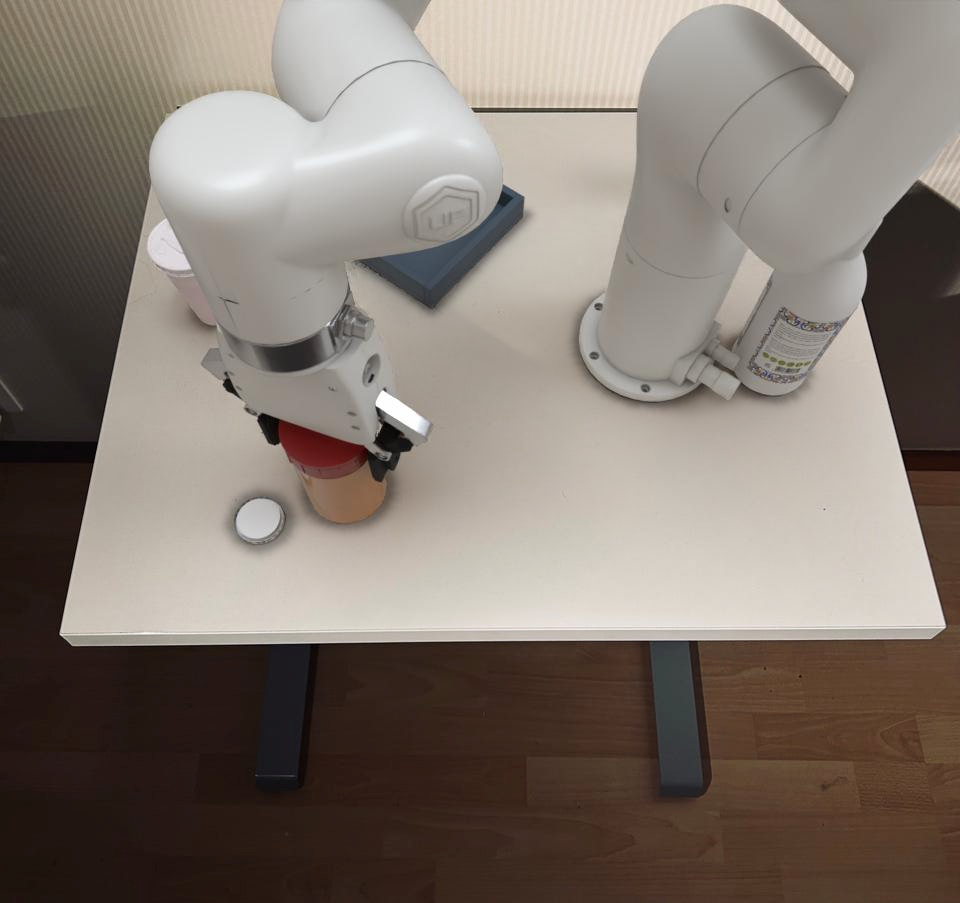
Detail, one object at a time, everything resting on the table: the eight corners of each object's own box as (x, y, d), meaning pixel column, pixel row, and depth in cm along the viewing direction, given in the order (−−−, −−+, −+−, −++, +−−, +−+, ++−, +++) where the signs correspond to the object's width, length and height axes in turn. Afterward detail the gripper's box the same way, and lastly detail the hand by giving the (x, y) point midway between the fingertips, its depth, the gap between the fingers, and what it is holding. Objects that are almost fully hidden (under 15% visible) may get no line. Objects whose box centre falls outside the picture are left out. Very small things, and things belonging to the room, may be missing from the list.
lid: (328, 380, 61) (324, 367, 60) (396, 430, 59) (394, 418, 58) (263, 442, 59) (257, 430, 57) (332, 496, 57) (328, 486, 55)
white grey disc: (260, 553, 65) (259, 550, 64) (225, 525, 66) (223, 522, 65) (294, 516, 66) (293, 513, 66) (259, 490, 67) (257, 487, 67)
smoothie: (238, 343, 74) (191, 240, 61) (172, 331, 74) (112, 226, 62) (260, 288, 77) (219, 179, 64) (197, 277, 77) (144, 166, 65)
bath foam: (817, 390, 72) (932, 241, 54) (745, 404, 72) (838, 258, 54) (787, 328, 75) (887, 167, 57) (718, 341, 75) (797, 182, 57)
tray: (523, 216, 81) (524, 196, 78) (431, 308, 76) (430, 290, 73) (377, 129, 86) (375, 108, 84) (282, 210, 81) (276, 190, 78)
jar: (402, 481, 68) (392, 422, 58) (350, 539, 66) (330, 487, 56) (345, 438, 70) (325, 374, 60) (292, 493, 67) (263, 435, 58)
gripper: (454, 302, 45) (458, 441, 61) (182, 218, 48) (253, 373, 63) (403, 410, 42) (421, 527, 58) (115, 314, 45) (207, 452, 60)
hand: (333, 446), depth 61 cm, fingers open, 8 cm apart
